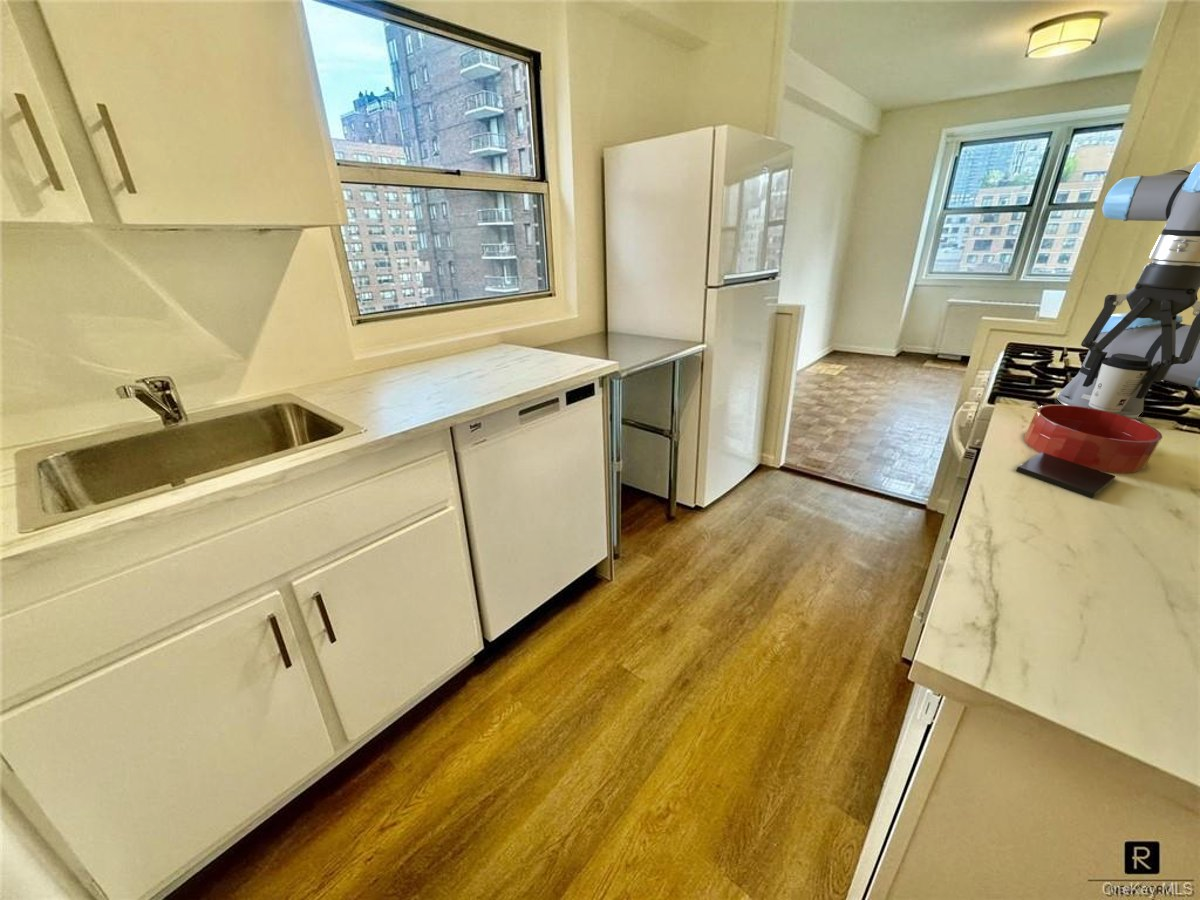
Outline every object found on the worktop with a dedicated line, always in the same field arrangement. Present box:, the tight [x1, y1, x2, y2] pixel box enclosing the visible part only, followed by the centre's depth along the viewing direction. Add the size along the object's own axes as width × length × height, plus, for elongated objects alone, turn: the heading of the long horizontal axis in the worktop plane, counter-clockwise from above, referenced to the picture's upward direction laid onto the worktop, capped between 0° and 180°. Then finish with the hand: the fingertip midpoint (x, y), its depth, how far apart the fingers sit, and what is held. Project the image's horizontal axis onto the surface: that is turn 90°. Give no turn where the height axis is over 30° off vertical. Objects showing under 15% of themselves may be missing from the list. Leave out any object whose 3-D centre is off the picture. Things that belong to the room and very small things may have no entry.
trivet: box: [1015, 452, 1116, 499], centre depth 88 cm, size 11×11×1 cm
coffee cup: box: [1089, 353, 1152, 412], centre depth 91 cm, size 7×7×10 cm
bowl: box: [1023, 404, 1163, 474], centre depth 96 cm, size 18×18×6 cm
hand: (1113, 390), depth 92 cm, fingers closed on coffee cup, 7 cm apart
